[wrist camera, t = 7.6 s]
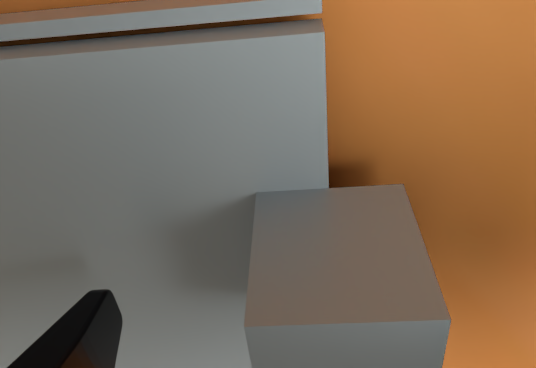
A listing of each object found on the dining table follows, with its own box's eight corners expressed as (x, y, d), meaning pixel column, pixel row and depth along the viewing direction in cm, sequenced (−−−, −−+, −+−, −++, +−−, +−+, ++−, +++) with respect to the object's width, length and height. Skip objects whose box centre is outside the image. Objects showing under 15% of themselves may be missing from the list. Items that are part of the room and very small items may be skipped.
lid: (-73, 347, 16) (-197, 517, 12) (-322, 42, 10) (-745, 172, 6) (378, 333, 15) (413, 517, 11) (399, -26, 9) (496, 79, 5)
